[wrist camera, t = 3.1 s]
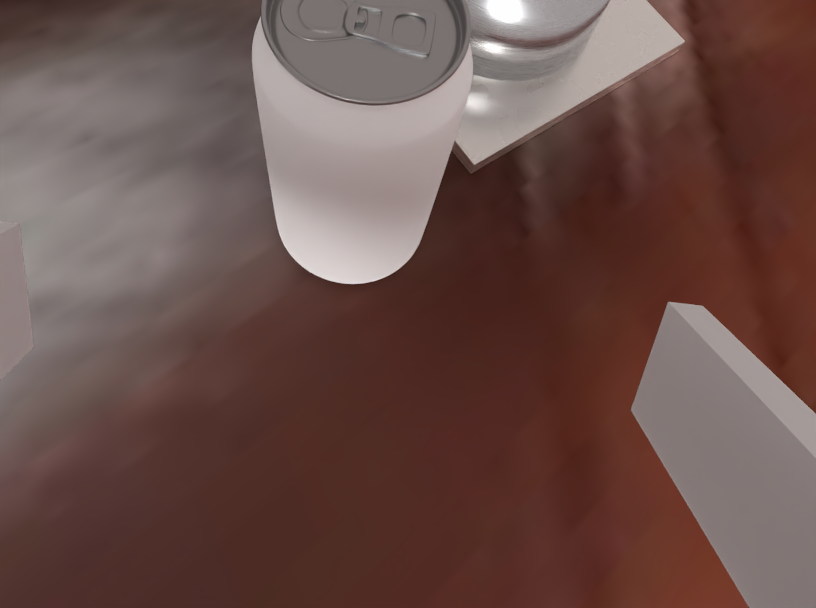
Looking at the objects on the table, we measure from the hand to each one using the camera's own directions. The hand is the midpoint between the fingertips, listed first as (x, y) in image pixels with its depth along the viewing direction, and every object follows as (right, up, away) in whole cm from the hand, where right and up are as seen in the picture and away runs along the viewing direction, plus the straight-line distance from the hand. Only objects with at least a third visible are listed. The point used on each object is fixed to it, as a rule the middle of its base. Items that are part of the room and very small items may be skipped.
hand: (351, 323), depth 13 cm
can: (-1, +4, +15) cm, 16 cm away
